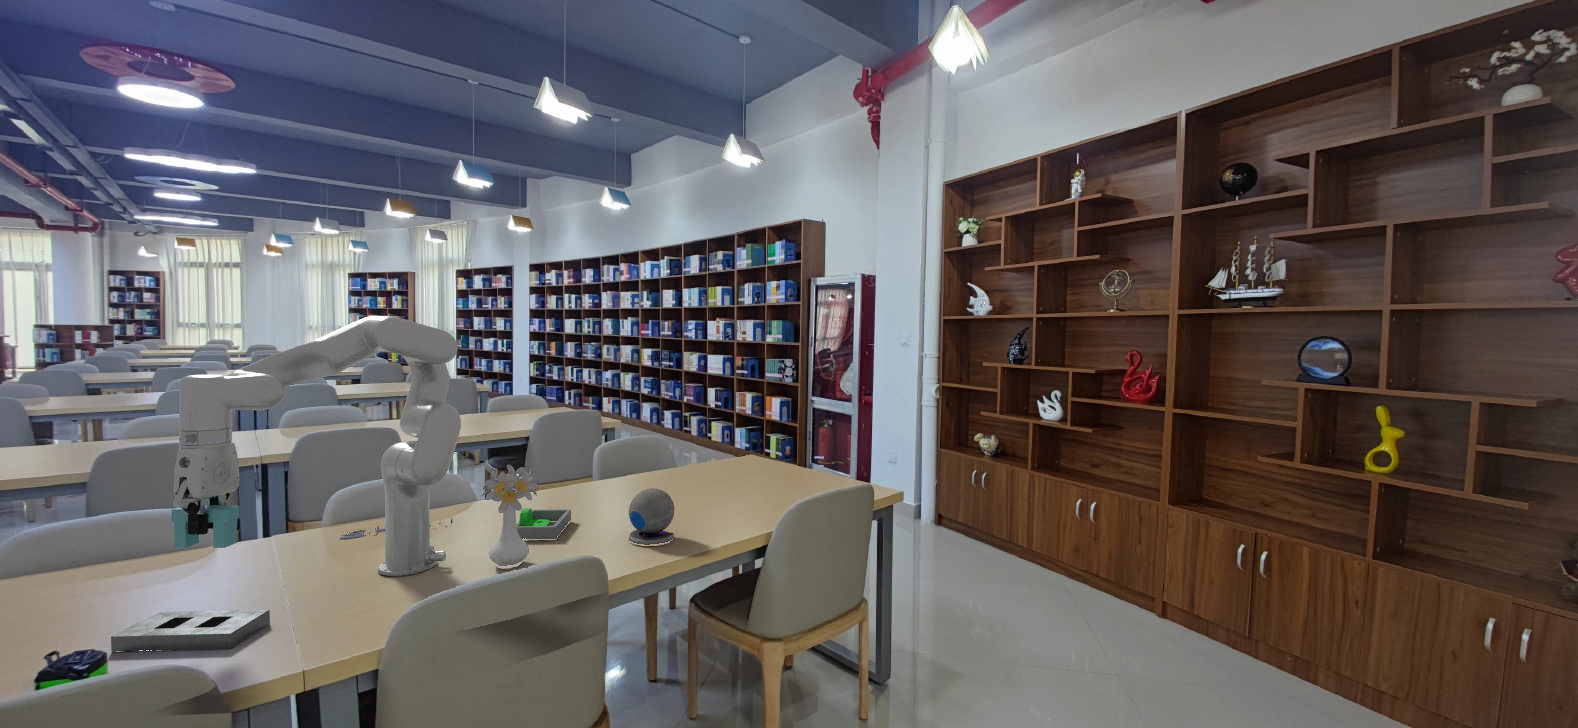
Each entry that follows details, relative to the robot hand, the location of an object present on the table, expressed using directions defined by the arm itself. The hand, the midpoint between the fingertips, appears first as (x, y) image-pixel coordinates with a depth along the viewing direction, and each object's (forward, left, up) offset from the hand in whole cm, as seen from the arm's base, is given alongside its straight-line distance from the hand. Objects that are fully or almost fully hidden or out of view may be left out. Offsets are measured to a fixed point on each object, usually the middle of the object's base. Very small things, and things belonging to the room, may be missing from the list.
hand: (206, 530), depth 122 cm
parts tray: (-47, -59, -20) cm, 78 cm away
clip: (0, 0, -3) cm, 3 cm away
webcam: (-80, -50, -20) cm, 97 cm away
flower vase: (-47, -31, -20) cm, 60 cm away
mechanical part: (-45, -59, -20) cm, 77 cm away
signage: (-4, -63, -20) cm, 67 cm away
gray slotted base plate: (0, +4, -20) cm, 20 cm away
